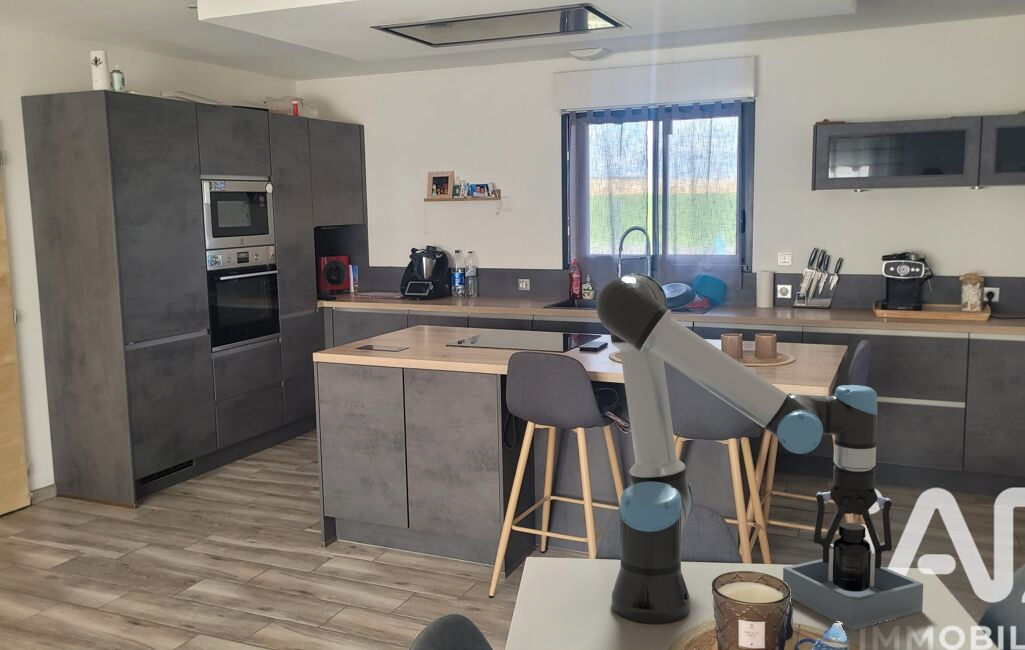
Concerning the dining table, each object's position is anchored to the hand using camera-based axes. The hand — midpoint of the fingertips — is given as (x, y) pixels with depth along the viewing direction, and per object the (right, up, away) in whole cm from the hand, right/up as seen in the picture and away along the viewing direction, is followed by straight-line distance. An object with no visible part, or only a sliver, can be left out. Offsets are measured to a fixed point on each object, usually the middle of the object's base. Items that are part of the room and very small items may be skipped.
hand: (850, 580), depth 167 cm
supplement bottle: (0, -1, 0) cm, 1 cm away
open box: (0, -4, 0) cm, 5 cm away
